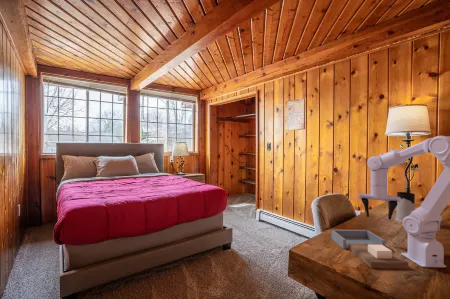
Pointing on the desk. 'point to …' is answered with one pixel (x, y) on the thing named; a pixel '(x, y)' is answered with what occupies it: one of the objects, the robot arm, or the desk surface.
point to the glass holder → (405, 205)
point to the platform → (374, 262)
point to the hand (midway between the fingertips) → (378, 217)
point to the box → (355, 237)
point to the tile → (379, 251)
